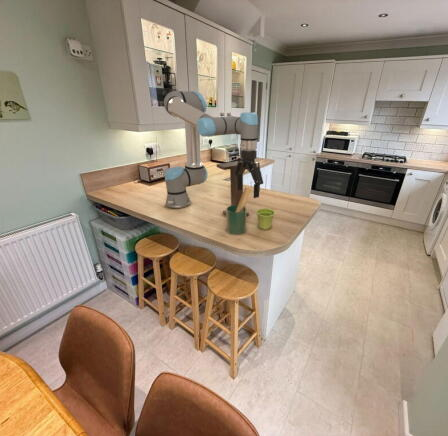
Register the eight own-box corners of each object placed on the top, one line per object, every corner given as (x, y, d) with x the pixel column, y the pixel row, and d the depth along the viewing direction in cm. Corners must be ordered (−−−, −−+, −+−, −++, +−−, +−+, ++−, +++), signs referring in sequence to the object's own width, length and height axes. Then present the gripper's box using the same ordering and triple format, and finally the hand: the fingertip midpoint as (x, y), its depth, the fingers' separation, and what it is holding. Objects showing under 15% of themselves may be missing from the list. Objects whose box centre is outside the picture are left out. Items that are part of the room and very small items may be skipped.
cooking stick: (245, 186, 115) (248, 188, 116) (228, 227, 118) (232, 228, 120) (248, 188, 113) (251, 189, 114) (231, 229, 116) (235, 229, 118)
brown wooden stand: (217, 214, 136) (215, 163, 123) (238, 209, 144) (237, 160, 131) (227, 221, 128) (225, 167, 115) (248, 215, 136) (249, 164, 123)
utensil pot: (223, 228, 121) (222, 207, 116) (239, 223, 126) (238, 203, 121) (233, 236, 114) (233, 214, 109) (249, 231, 119) (249, 209, 114)
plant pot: (272, 222, 127) (273, 208, 123) (275, 231, 119) (276, 215, 115) (255, 223, 127) (255, 208, 123) (256, 231, 118) (257, 216, 115)
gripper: (227, 146, 113) (228, 187, 123) (259, 155, 95) (257, 202, 105) (239, 145, 117) (239, 185, 127) (272, 153, 99) (270, 199, 109)
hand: (247, 193), depth 116 cm, fingers open, 13 cm apart
